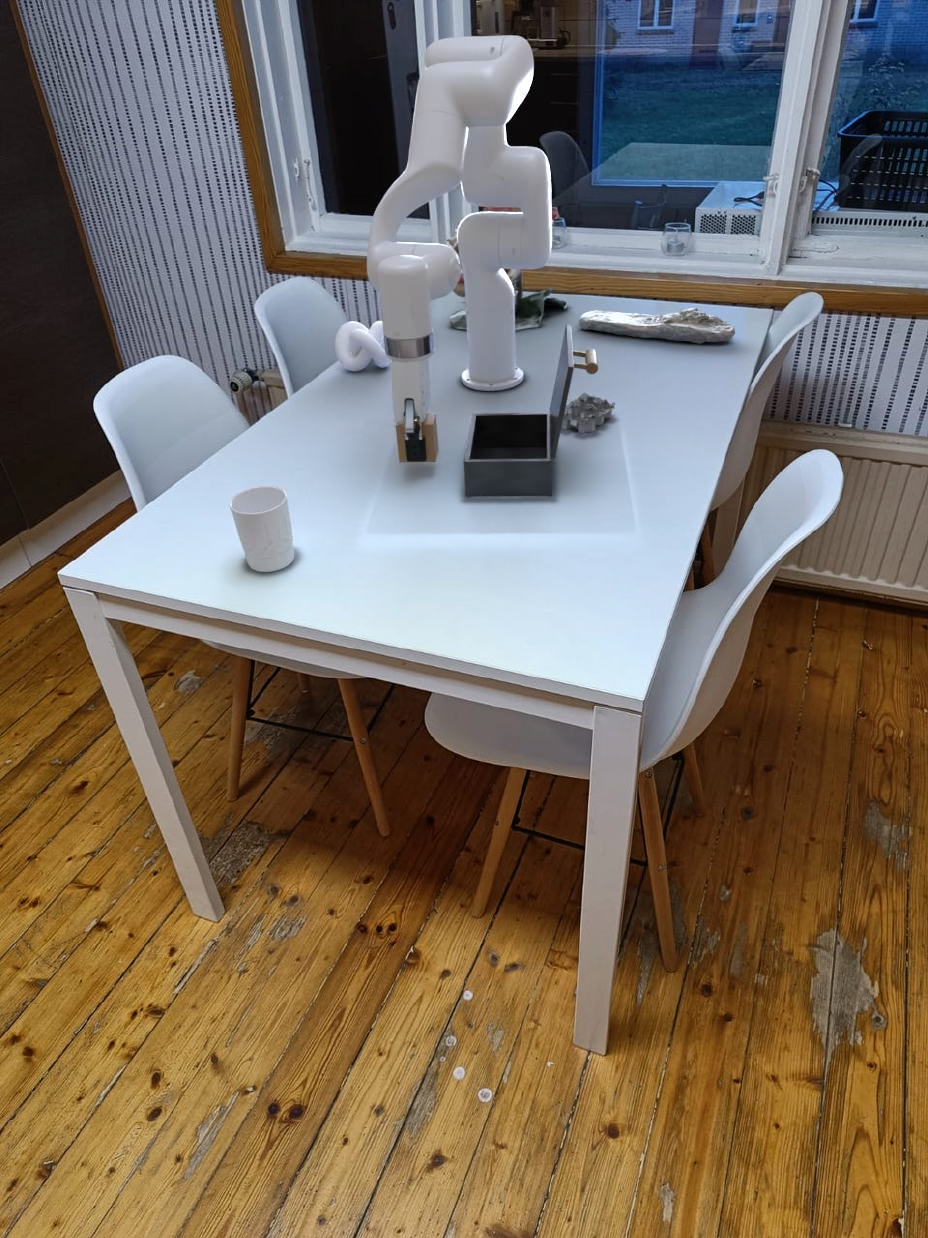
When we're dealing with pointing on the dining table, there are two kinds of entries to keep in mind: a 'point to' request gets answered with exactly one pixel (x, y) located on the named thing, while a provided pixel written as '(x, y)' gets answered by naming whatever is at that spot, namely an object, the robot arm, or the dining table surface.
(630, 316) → the long grey stone
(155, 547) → the dining table surface
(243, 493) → the white cup
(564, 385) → the lid
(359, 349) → the white knot sculpture
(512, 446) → the chest
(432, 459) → the package
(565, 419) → the grey rock
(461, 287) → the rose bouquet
